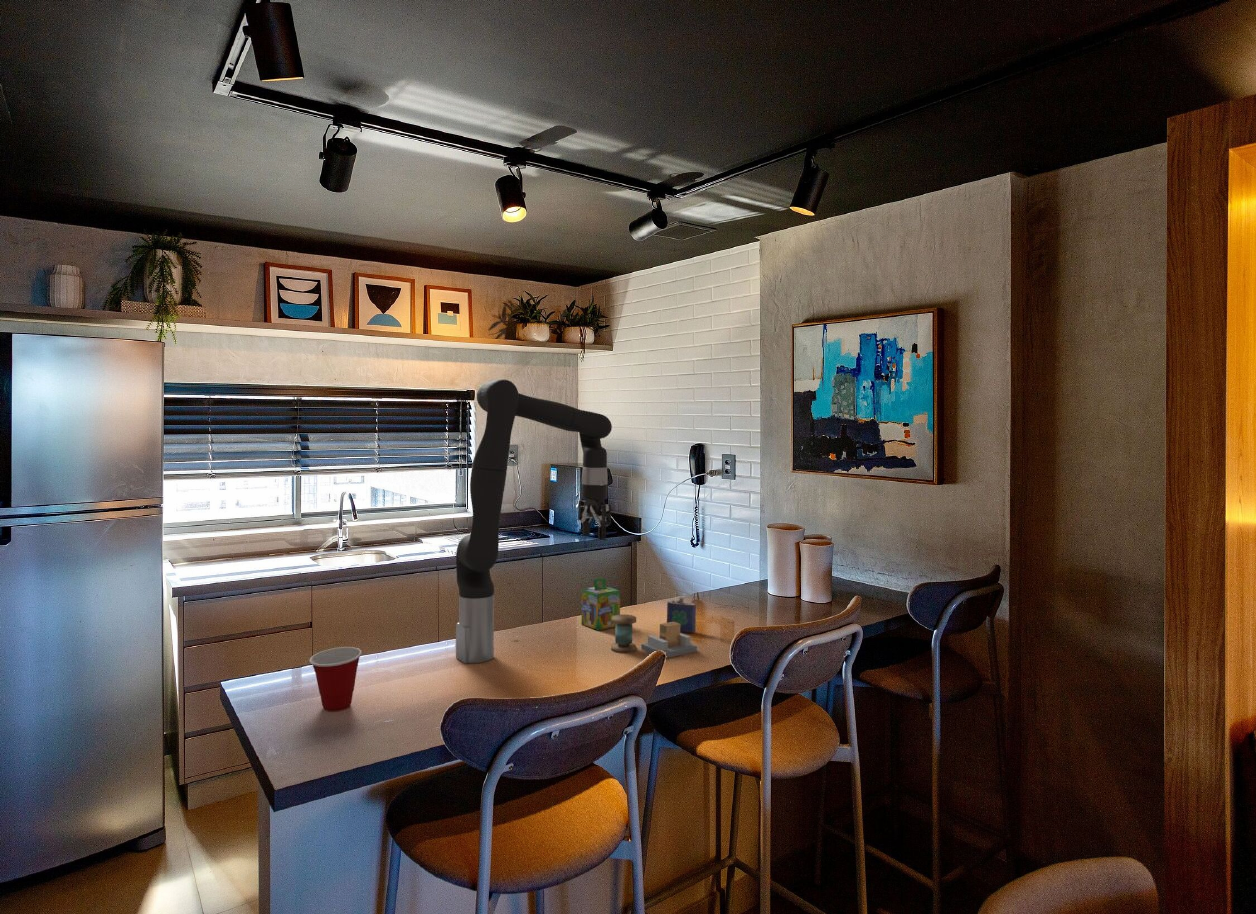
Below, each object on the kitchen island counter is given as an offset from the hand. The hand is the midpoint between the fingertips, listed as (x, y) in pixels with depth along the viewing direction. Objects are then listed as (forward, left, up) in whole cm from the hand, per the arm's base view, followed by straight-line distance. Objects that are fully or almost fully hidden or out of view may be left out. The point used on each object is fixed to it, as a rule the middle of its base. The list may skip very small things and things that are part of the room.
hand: (593, 537), depth 218 cm
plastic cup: (-76, -13, -30) cm, 83 cm away
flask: (+27, -8, -30) cm, 41 cm away
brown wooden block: (+12, -21, -29) cm, 37 cm away
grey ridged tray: (+12, -21, -30) cm, 39 cm away
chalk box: (+10, +11, -30) cm, 34 cm away
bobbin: (+2, -13, -30) cm, 33 cm away
